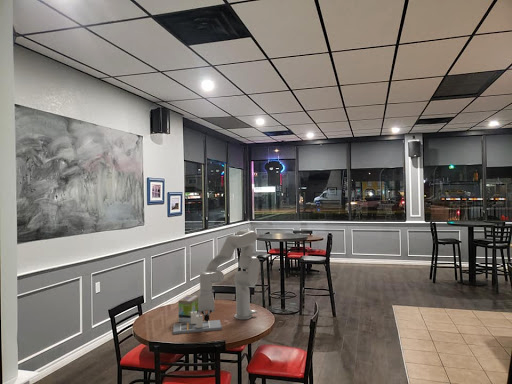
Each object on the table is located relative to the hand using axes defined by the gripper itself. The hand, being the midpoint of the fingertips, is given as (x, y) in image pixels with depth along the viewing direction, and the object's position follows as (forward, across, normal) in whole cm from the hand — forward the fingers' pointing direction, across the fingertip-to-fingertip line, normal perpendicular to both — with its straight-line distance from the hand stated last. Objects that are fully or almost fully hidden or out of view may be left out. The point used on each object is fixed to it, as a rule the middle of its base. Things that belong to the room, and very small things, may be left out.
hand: (206, 321), depth 222 cm
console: (+5, +6, -4) cm, 9 cm away
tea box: (+6, +11, -23) cm, 26 cm away
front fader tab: (+3, +4, 0) cm, 6 cm away
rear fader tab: (+3, +8, -8) cm, 12 cm away
